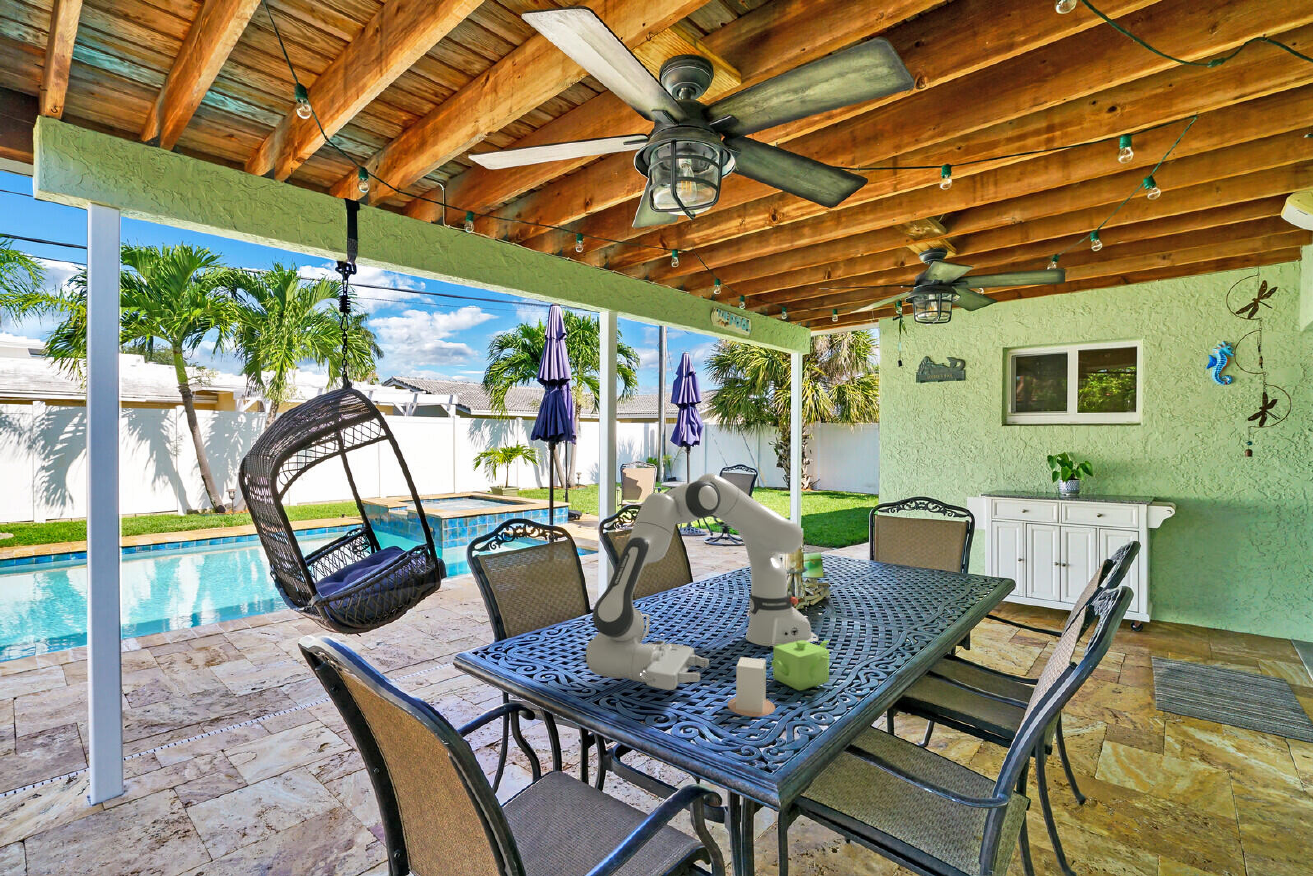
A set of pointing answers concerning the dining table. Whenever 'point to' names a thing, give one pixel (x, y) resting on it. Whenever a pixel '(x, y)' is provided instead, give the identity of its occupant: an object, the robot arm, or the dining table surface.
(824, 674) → the kettle
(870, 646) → the dining table surface
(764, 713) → the coaster
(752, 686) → the tall cream pillar
